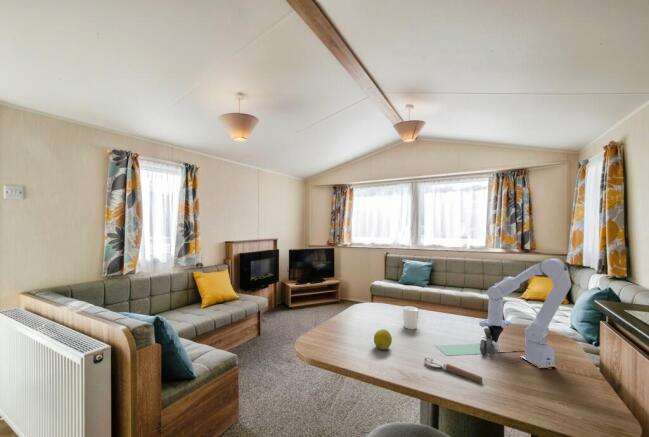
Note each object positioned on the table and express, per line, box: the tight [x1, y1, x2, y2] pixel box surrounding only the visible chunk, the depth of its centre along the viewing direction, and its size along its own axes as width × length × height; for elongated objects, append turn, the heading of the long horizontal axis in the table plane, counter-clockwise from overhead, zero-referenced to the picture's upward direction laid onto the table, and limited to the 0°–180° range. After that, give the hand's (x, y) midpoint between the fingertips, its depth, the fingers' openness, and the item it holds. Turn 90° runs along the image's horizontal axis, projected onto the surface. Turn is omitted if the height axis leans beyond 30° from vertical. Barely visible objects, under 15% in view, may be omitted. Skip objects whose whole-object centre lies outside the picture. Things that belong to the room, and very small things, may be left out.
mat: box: [435, 342, 500, 357], centre depth 124 cm, size 9×39×1 cm, turn 99°
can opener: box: [479, 327, 494, 355], centre depth 125 cm, size 19×5×6 cm, turn 147°
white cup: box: [402, 305, 419, 330], centre depth 148 cm, size 8×8×10 cm
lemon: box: [373, 328, 393, 351], centre depth 122 cm, size 11×8×8 cm
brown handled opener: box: [423, 355, 483, 384], centre depth 104 cm, size 20×6×3 cm, turn 49°
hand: (494, 341), depth 125 cm, fingers closed, pressing on can opener
